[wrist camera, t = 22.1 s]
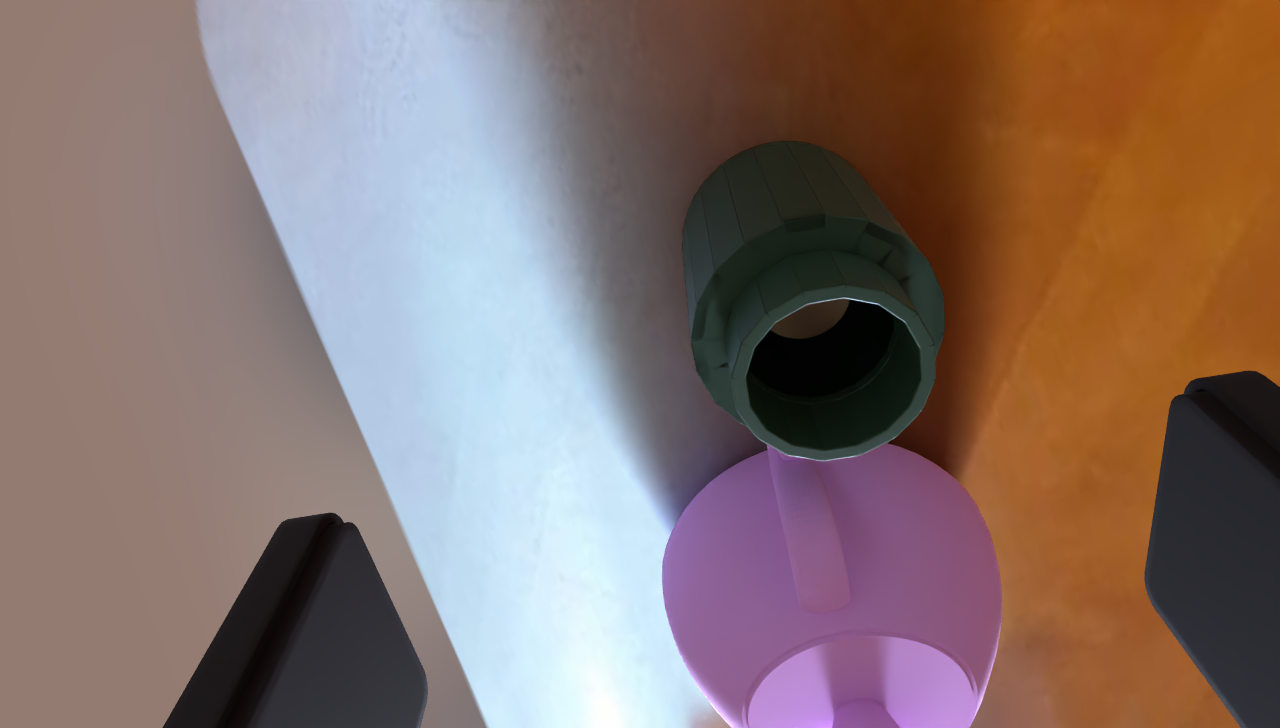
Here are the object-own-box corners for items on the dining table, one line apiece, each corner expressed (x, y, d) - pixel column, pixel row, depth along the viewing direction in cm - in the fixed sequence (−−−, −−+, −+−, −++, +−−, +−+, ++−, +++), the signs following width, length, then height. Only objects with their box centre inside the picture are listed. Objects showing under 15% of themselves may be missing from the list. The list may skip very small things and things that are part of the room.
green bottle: (699, 338, 41) (718, 505, 30) (666, 162, 37) (673, 278, 25) (882, 307, 40) (974, 467, 29) (871, 122, 36) (973, 223, 24)
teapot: (605, 424, 43) (588, 621, 31) (945, 334, 41) (1067, 514, 29) (727, 723, 55) (748, 950, 43) (997, 669, 52) (1101, 897, 40)
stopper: (748, 288, 39) (763, 348, 34) (733, 213, 37) (746, 264, 32) (828, 270, 38) (856, 327, 33) (816, 193, 37) (844, 241, 31)
